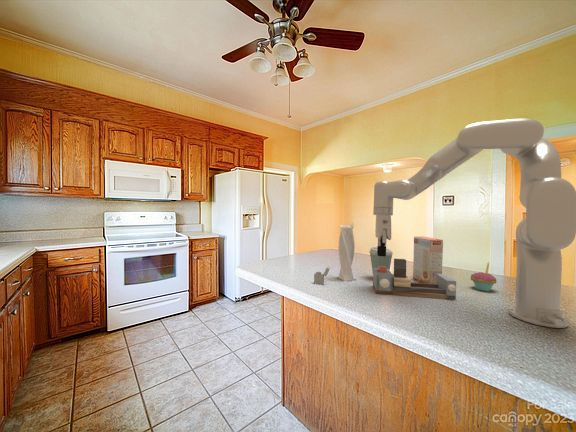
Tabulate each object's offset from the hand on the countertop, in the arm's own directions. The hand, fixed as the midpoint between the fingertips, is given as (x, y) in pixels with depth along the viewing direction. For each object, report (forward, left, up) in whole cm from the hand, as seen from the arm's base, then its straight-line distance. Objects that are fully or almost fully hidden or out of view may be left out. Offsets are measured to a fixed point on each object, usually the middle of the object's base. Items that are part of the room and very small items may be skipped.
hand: (381, 255), depth 99 cm
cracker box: (+16, -22, -15) cm, 31 cm away
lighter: (+3, +25, -15) cm, 29 cm away
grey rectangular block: (0, -24, -14) cm, 28 cm away
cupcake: (+11, -42, -15) cm, 46 cm away
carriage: (0, -7, -11) cm, 13 cm away
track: (0, -11, -14) cm, 18 cm away
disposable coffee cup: (+17, -2, -15) cm, 22 cm away
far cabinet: (0, 0, -14) cm, 14 cm away
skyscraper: (+13, +14, -15) cm, 24 cm away
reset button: (0, 0, -8) cm, 8 cm away
